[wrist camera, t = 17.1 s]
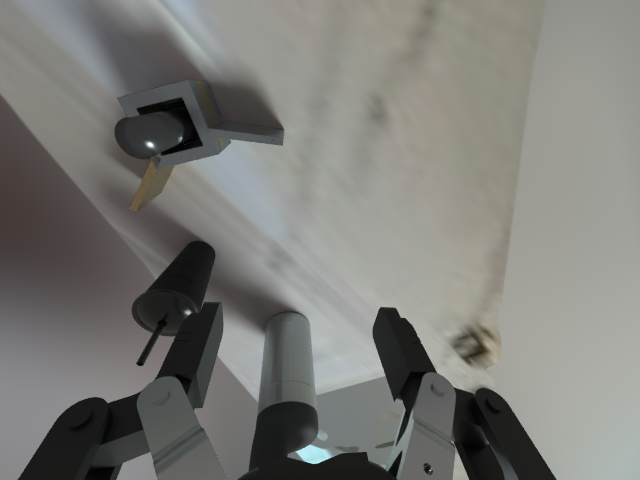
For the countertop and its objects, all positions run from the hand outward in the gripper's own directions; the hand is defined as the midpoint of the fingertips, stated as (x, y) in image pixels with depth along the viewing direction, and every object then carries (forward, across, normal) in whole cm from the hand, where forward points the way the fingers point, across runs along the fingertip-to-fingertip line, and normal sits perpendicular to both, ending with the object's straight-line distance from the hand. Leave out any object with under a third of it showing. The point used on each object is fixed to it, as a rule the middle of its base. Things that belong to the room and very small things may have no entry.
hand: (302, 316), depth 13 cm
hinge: (+28, +12, -3) cm, 31 cm away
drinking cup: (+28, +14, +16) cm, 36 cm away
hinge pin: (+28, +13, -5) cm, 31 cm away
